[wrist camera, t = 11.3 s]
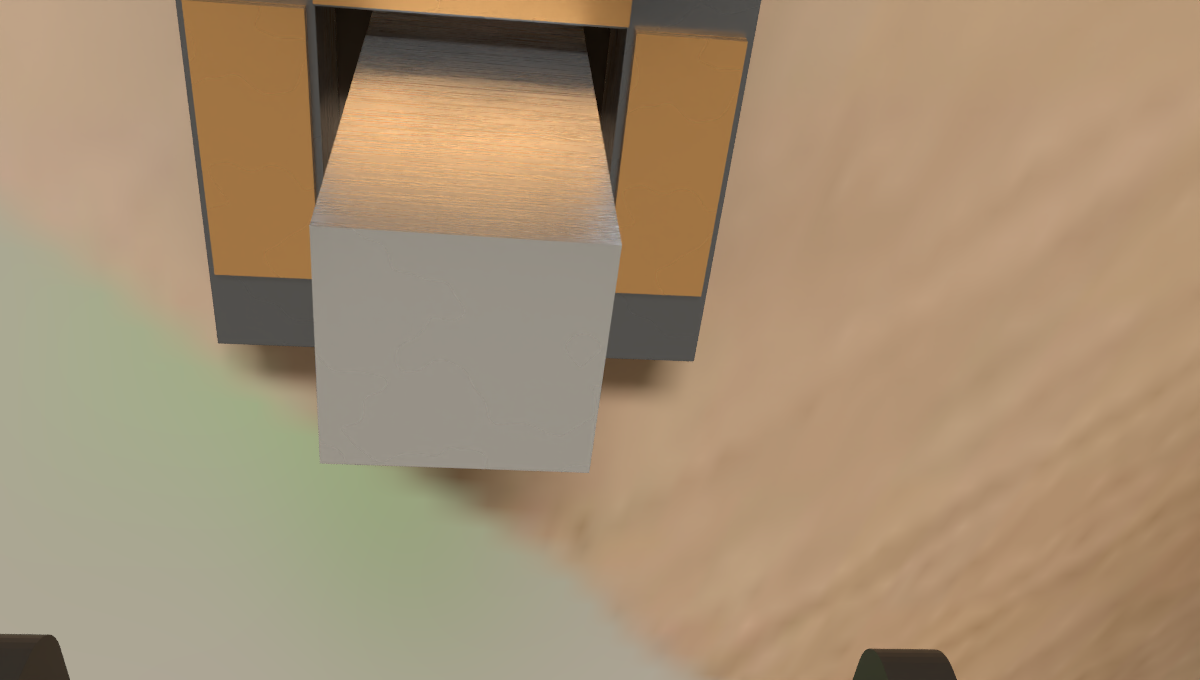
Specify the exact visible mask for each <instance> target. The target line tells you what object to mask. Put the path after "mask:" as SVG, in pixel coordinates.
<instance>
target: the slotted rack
mask: <svg viewBox="0 0 1200 680" xmlns="http://www.w3.org/2000/svg"><path fill="white" fill-rule="evenodd" d="M760 4H761V0H176V8H177V16H178V24H179V32H180V40H181V48H182V56H183V64H184V72H185V80H186V88H187V96H188V104H189V112H190V120H191V128H192V136H193V145H194V153H195V161H196V169H197V177H198V185H199V193H200V201H201V209H202V217H203V225H204V233H205V241H206V249H207V257H208V265H209V273H210V281H211V289H212V297H213V306H214V314H215V322H216V330H217V338H218V343H224V344H250V345H277V346H303V347H315V340H314V318H313V296H312V273H311V251H310V229H309V225H310V222H311V219H312V215H313V212H314V208H315V205H316V202H317V198H318V195H319V192H320V188H321V185H322V181H323V178H324V175H325V171H326V168H327V165H328V161H329V158H330V154H331V151H332V148H333V144H334V141H335V137H336V134H337V131H338V127H339V124H340V119H339V94H338V69H337V44H336V19H335V7H337V8H350V9H363V10H377V11H390V12H404V13H417V14H431V15H444V16H457V17H471V18H484V19H498V20H511V21H525V22H538V23H551V24H565V25H578V26H592V27H605V28H610V37H609V46H608V56H607V65H606V74H605V83H604V93H603V102H602V111H601V120H600V126H601V131H602V137H603V142H604V148H605V154H606V159H607V165H608V170H609V176H610V181H611V187H612V193H613V198H614V204H615V209H616V215H617V220H618V226H619V232H620V237H621V243H622V248H621V255H620V262H619V269H618V276H617V283H616V290H615V297H614V304H613V311H612V318H611V324H610V331H609V338H608V345H607V352H606V358H620V359H646V360H672V361H694V357H695V352H696V347H697V341H698V336H699V331H700V325H701V320H702V315H703V309H704V304H705V298H706V293H707V288H708V282H709V277H710V272H711V266H712V261H713V256H714V250H715V245H716V240H717V234H718V229H719V223H720V218H721V213H722V207H723V202H724V197H725V191H726V186H727V181H728V175H729V170H730V165H731V159H732V154H733V148H734V143H735V138H736V132H737V127H738V122H739V116H740V111H741V106H742V100H743V95H744V90H745V84H746V79H747V73H748V68H749V63H750V57H751V52H752V47H753V41H754V36H755V31H756V25H757V20H758V14H759V9H760Z"/></svg>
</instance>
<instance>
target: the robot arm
mask: <svg viewBox="0 0 1200 680" xmlns="http://www.w3.org/2000/svg"><path fill="white" fill-rule="evenodd" d="M0 680H70V678H69V675H68V672H67V669H66V666H65V662H64V658H63V655H62V652H61V649H60V646H59V643H58V641H57V640H56V638H55V637H54V636H52V635H33V634H0ZM853 680H957V679H956V676H955V674H954V671H953V669H952V666H951V664H950V662H949V661H948V659H947V657H946V656H945V655H944V654H943V653H942V652H941V651H939V650H928V649H867V650H865V651H864V653H863V654H862V656H861V658H860V660H859V663H858V666H857V669H856V672H855V675H854V677H853Z"/></svg>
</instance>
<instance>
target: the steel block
mask: <svg viewBox="0 0 1200 680" xmlns="http://www.w3.org/2000/svg"><path fill="white" fill-rule="evenodd" d="M309 229H310V251H311V273H312V296H313V318H314V340H315V363H316V385H317V407H318V429H319V452H320V463H326V464H354V465H383V466H411V467H440V468H468V469H497V470H525V471H553V472H582V473H589V470H590V463H591V456H592V449H593V442H594V435H595V428H596V421H597V414H598V407H599V401H600V394H601V387H602V380H603V373H604V366H605V359H606V352H607V345H608V338H609V331H610V324H611V318H612V311H613V304H614V297H615V290H616V283H617V276H618V269H619V262H620V255H621V248H622V243H621V237H620V232H619V226H618V220H617V215H616V209H615V204H614V198H613V193H612V187H611V181H610V176H609V170H608V165H607V159H606V154H605V148H604V142H603V137H602V131H601V126H600V120H599V115H598V109H597V103H596V98H595V92H594V87H593V81H592V75H591V70H590V64H589V59H588V53H587V48H586V42H585V36H584V31H583V26H578V25H565V24H551V23H538V22H525V21H511V20H498V19H484V18H471V17H457V16H444V15H431V14H417V13H404V12H390V11H377V10H373V12H372V16H371V19H370V23H369V26H368V29H367V33H366V36H365V39H364V43H363V46H362V50H361V53H360V56H359V60H358V63H357V66H356V70H355V73H354V77H353V80H352V83H351V87H350V90H349V94H348V97H347V100H346V104H345V107H344V110H343V114H342V117H341V121H340V124H339V127H338V131H337V134H336V137H335V141H334V144H333V148H332V151H331V154H330V158H329V161H328V165H327V168H326V171H325V175H324V178H323V181H322V185H321V188H320V192H319V195H318V198H317V202H316V205H315V208H314V212H313V215H312V219H311V222H310V225H309Z"/></svg>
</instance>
